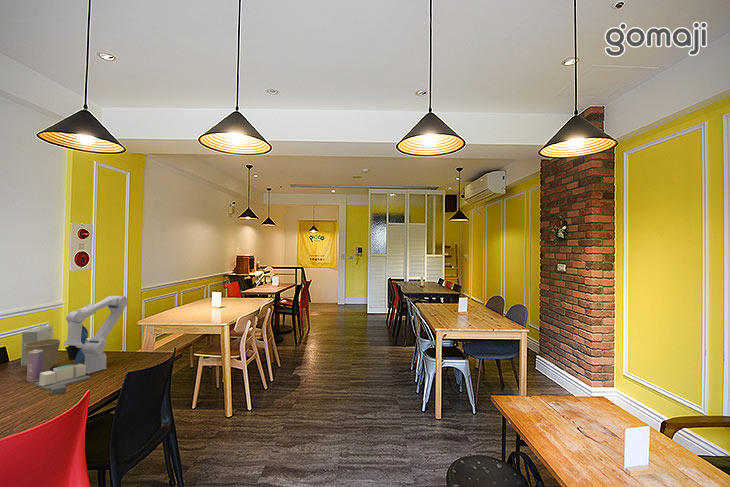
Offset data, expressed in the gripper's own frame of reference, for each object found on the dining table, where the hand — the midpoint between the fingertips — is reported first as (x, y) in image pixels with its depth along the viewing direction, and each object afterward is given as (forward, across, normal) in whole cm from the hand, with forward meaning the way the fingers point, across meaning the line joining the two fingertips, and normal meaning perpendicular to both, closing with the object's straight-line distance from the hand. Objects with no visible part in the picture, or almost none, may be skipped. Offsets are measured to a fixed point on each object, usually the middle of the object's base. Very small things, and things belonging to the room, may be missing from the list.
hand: (72, 360), depth 186 cm
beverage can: (+10, -13, -10) cm, 19 cm away
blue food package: (+8, -32, +18) cm, 37 cm away
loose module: (+8, +2, -4) cm, 10 cm away
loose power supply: (+11, +18, -12) cm, 24 cm away
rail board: (+10, +2, -4) cm, 11 cm away
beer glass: (+8, -18, +18) cm, 26 cm away
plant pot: (+9, -26, -2) cm, 28 cm away
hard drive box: (+9, -48, +4) cm, 49 cm away
